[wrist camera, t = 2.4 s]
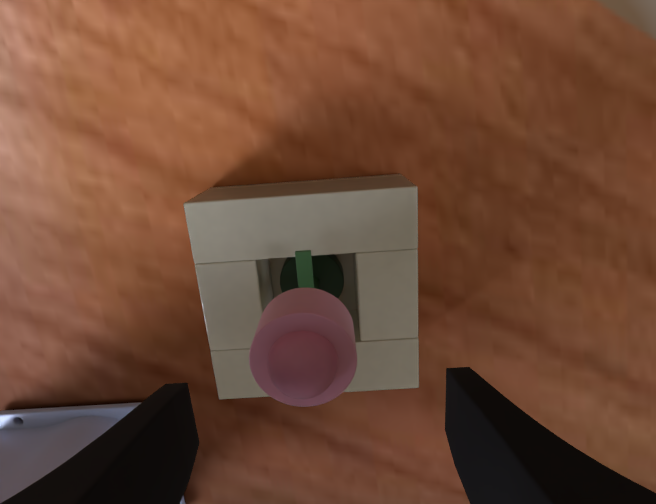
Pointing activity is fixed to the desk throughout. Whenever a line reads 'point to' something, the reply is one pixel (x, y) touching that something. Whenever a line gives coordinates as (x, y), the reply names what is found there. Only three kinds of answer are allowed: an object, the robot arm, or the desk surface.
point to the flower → (305, 335)
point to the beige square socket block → (322, 239)
